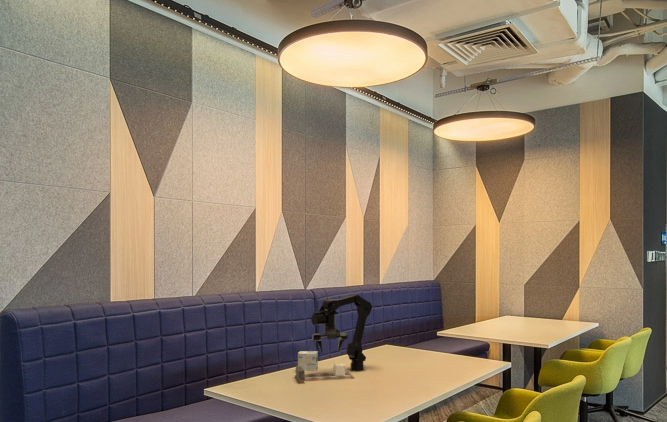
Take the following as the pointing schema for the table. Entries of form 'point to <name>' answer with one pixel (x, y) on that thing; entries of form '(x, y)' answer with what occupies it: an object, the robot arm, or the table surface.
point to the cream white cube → (339, 369)
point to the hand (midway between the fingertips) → (330, 352)
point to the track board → (318, 376)
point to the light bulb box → (308, 360)
